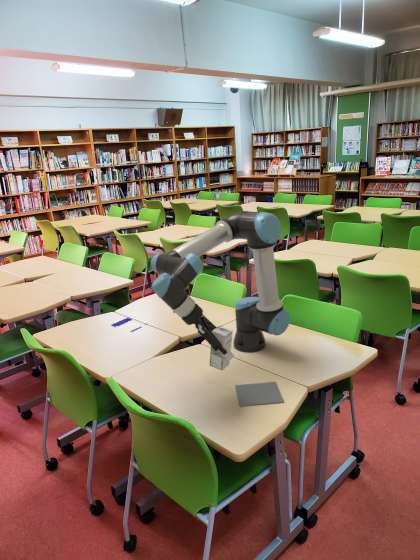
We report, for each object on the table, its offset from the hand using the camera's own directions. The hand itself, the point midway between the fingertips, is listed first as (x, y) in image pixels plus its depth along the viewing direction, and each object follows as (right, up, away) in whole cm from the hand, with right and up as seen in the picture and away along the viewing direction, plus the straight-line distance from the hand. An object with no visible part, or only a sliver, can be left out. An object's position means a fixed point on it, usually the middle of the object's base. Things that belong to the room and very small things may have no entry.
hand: (229, 352), depth 153 cm
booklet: (-49, +1, +77) cm, 91 cm away
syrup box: (-4, -5, +2) cm, 7 cm away
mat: (+11, -17, +5) cm, 21 cm away
